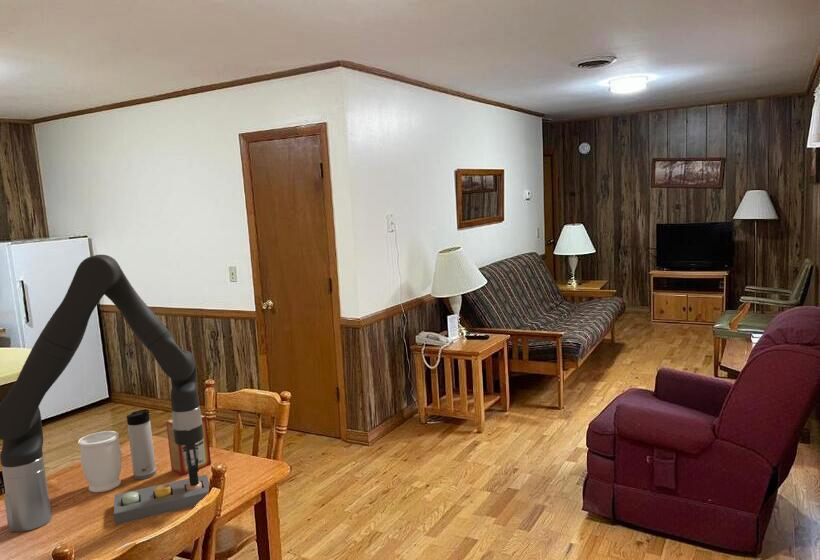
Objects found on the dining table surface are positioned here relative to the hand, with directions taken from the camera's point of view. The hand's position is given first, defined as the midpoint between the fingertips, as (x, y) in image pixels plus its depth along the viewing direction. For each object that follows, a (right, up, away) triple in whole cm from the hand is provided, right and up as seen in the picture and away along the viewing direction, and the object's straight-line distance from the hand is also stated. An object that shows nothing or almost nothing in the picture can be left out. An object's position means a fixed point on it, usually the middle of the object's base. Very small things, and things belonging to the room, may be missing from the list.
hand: (194, 484), depth 174 cm
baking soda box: (-8, -2, +20) cm, 21 cm away
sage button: (-15, -3, -6) cm, 16 cm away
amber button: (-7, -2, -3) cm, 8 cm away
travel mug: (-20, -3, +17) cm, 26 cm away
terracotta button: (0, -3, 0) cm, 3 cm away
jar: (-29, -4, +10) cm, 31 cm away
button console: (-7, -4, -3) cm, 9 cm away
